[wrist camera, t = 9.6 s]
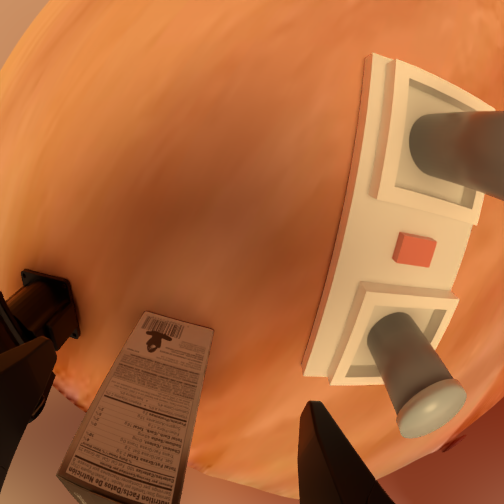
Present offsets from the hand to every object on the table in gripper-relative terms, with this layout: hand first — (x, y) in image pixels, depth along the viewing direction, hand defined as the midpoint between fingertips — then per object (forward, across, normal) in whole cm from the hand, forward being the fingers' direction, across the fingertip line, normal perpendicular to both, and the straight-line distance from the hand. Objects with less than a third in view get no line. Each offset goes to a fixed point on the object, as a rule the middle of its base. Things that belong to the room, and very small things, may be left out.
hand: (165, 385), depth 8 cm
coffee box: (+13, +4, +12) cm, 18 cm away
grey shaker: (+12, -13, -10) cm, 20 cm away
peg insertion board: (+13, -13, -2) cm, 19 cm away
